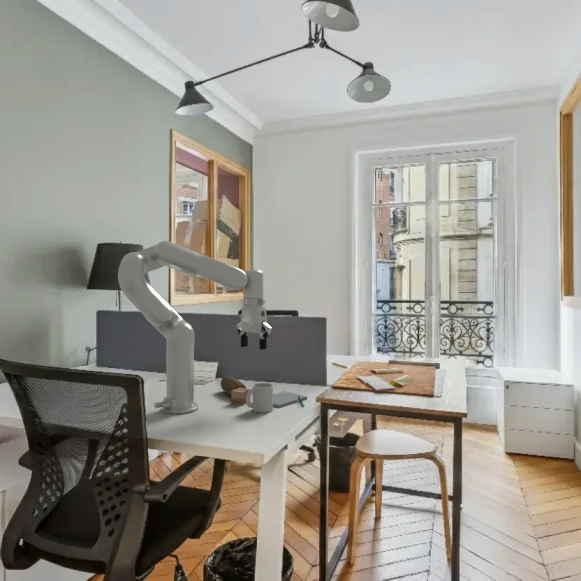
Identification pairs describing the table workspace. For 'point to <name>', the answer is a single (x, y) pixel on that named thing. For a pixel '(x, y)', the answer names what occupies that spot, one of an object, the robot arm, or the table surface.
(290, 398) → the mat
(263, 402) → the cup
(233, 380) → the brown rounded cylinder
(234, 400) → the walnut block
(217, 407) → the table surface
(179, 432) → the table surface
